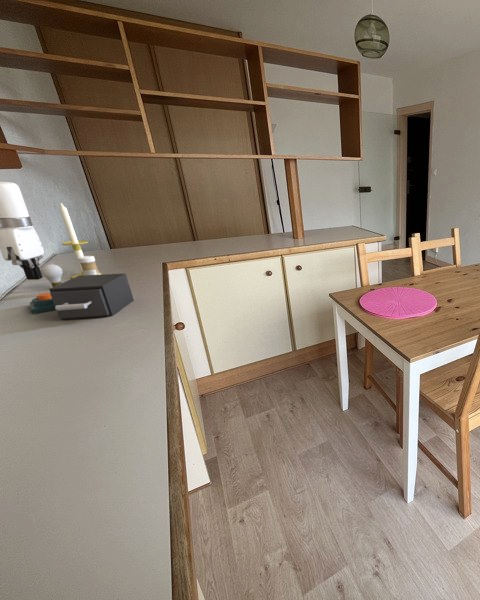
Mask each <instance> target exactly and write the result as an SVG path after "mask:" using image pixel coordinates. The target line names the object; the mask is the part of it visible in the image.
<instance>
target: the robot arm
mask: <svg viewBox="0 0 480 600" xmlns="http://www.w3.org/2000/svg"><path fill="white" fill-rule="evenodd" d="M0 253H1V256H2V258H3V260H4V261H7V262H8V261H11V264H12V265H13V266H19V267H20V268H21V269H22V270H23V271H24V276H25V278H26V280H27V281H37V280H41V279H43V278H44V276H42V274H41V268H40V266H41V265H40V264H41V263H40V260H42V259H43V258H44V257H43V255H44V254H45V250H44V246H43V244H42V241H41V239H40V237H39V234H38V233H37V231H36V229H35V228H34V224H33V222H32V219H31V216H30V213H29V211H28V208H27V205H26V202H25V199H24V197H23V193H22V191H21V189H20V186H19V185H18V184H17V183H15V182H12V181H0Z"/></svg>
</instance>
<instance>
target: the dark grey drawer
mask: <svg viewBox="0 0 480 600" xmlns="http://www.w3.org/2000/svg"><path fill="white" fill-rule="evenodd" d="M49 293H50V295H51V297H52V300H53V302H54V305H55V309H56V310H55V311H56V312H57V315H58V317H59V319H60V320H61V319H64V318H77V317H91V316H104V315H109V311H108V308H107V305H106V302H105V299H104V296H103V293H102V290H101V289H100V288H98V289H80V290H62V291H53V292H50V291H49Z"/></svg>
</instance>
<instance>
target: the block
mask: <svg viewBox="0 0 480 600" xmlns="http://www.w3.org/2000/svg"><path fill="white" fill-rule="evenodd" d="M29 307H30V311H31V313H32V315H37V314H42V313H48V312H53V311H57V310H56V309H55V305H54V302H53V300H52V298H51V299H46V300H38V298H37V297H34V298H32V299H31V301H29Z"/></svg>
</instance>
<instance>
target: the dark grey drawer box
mask: <svg viewBox="0 0 480 600" xmlns="http://www.w3.org/2000/svg"><path fill="white" fill-rule="evenodd" d="M98 288H100V289H101V290H102V293H103V296H104V299H105V302H106V305H107V308H108V311H109V315H104V316H91V317H77V318H64V319H60V320H61V321H67V320H78V319H92V318H93V319H94V318H105V317H106V318H107V317H113V316H115V315H116V314H118V313H119V312H121V311H122V310H123V309H125V308H126V307H127V306H129V305H130V304H131V303H133V302H134V301H135V299H134V296H133V293H132V289H131V286H130V283H129V280H128V276H127V274H126V273H105V274H101V275H82V276H77V277H75V278H70V279H69V280H66V281H63V282H61V284H59V285H57V286H55V287H53V286H52V287H50V288H49V289H48V290H49V293H50V292H53V291H62V290H80V289H98Z"/></svg>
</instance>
